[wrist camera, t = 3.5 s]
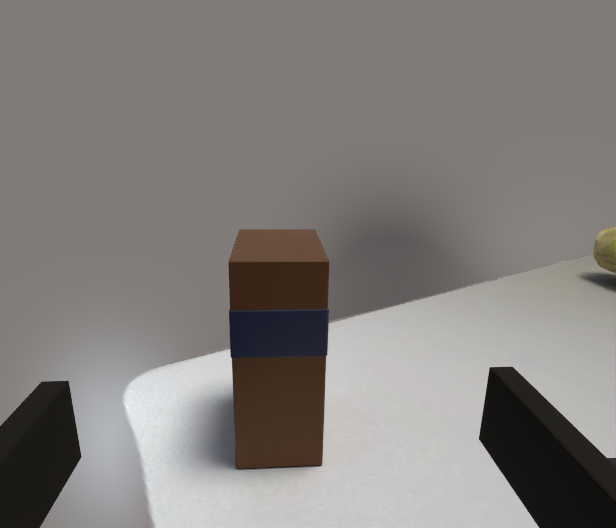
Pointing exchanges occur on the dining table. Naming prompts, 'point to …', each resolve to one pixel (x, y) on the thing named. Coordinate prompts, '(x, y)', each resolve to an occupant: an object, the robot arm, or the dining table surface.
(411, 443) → the dining table surface
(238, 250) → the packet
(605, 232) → the lettuce
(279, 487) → the dining table surface
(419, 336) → the dining table surface
